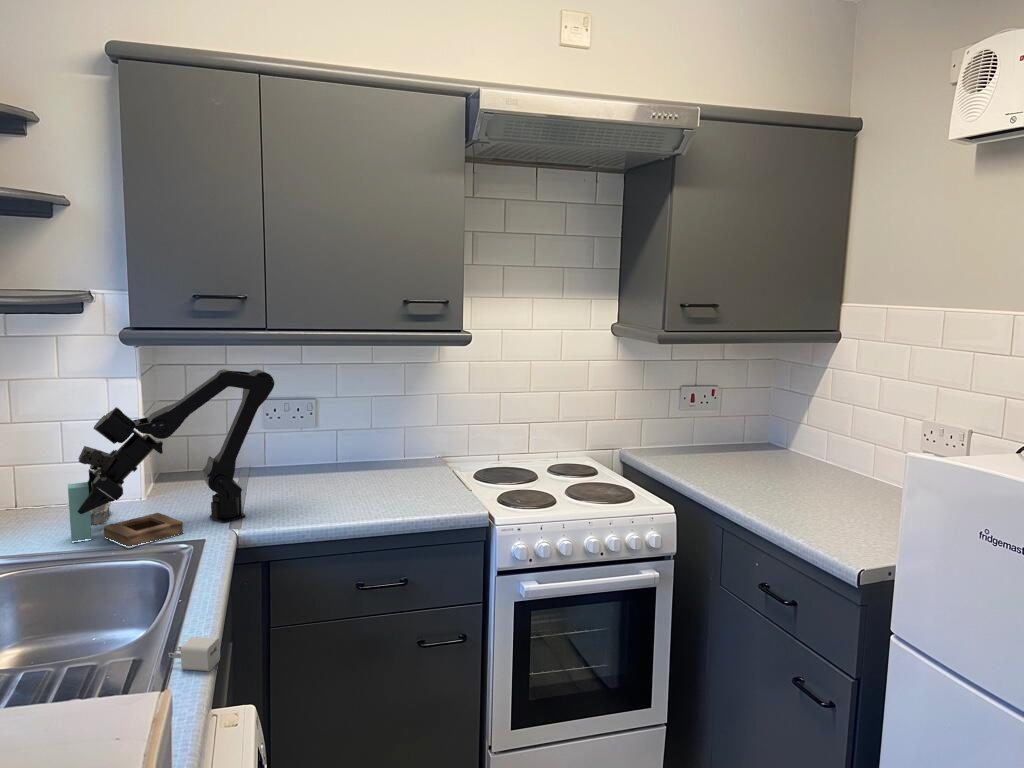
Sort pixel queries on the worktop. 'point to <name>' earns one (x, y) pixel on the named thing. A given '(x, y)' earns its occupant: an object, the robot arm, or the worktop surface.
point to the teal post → (79, 521)
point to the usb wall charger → (199, 653)
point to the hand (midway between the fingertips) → (78, 507)
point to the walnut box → (143, 529)
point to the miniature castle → (100, 514)
